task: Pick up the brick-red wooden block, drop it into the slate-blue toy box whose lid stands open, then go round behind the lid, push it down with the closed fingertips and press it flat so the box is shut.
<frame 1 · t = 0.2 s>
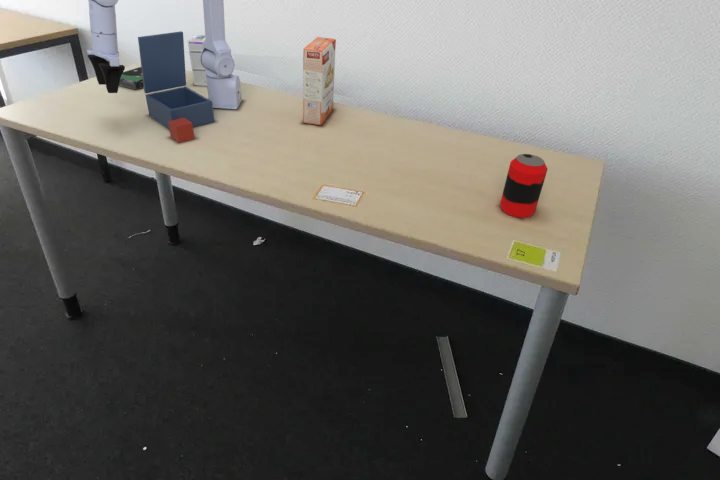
hand: (107, 88, 130), 10 cm above the table, tool pointing down, fingers open, 7 cm apart
syrup box: (204, 83, 169), on the table
lid: (163, 62, 139), point 14 cm above the table, hinge at 80.0°
block: (182, 138, 133), on the table
cracker box: (319, 117, 150), on the table
toy box: (181, 118, 143), on the table
disk drive: (142, 81, 167), on the table
soda can: (516, 210, 112), on the table
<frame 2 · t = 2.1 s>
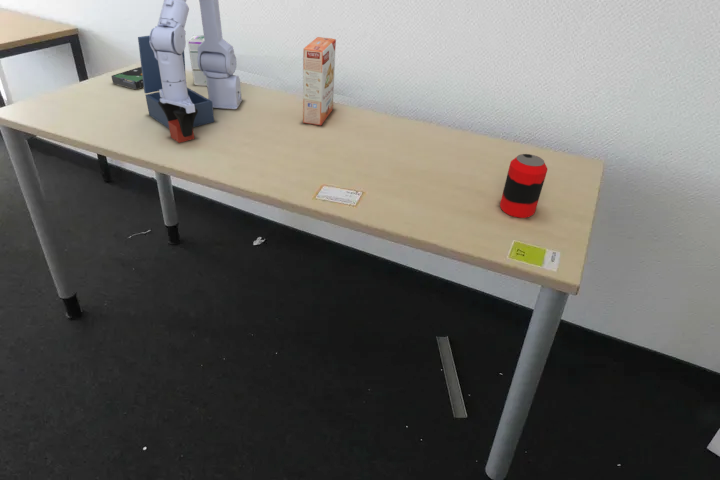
hand: (181, 131, 132), 2 cm above the table, tool pointing down, fingers open, 6 cm apart
nothing on the table moved.
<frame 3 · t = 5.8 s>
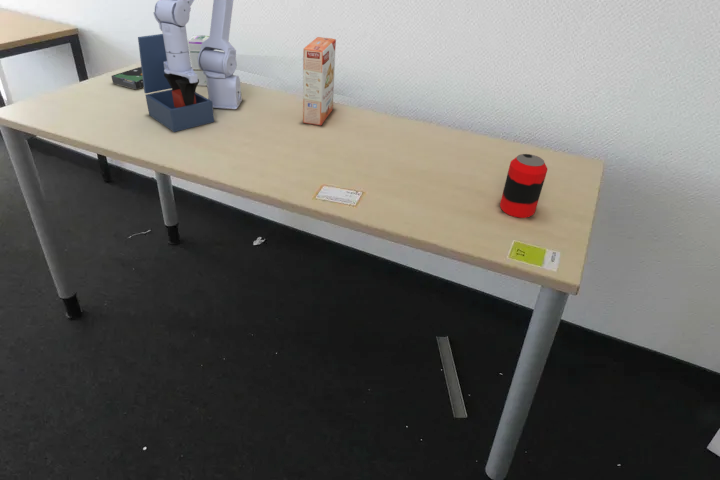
hand: (184, 102, 138), 6 cm above the table, tool pointing down, fingers closed on block, 4 cm apart
block: (185, 107, 139), point 4 cm above the table, touching gripper
everything else where it was.
when the fingers open (6 cm above the table, at t = 10.4 s): block drops 4 cm, resting on toy box.
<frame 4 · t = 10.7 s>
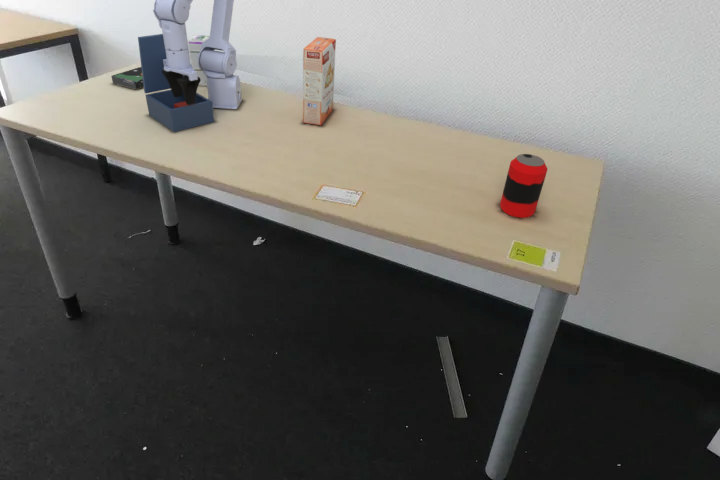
hand: (184, 100, 138), 6 cm above the table, tool pointing down, fingers open, 6 cm apart
block: (187, 119, 141), point 1 cm above the table, touching toy box
everything else where it was.
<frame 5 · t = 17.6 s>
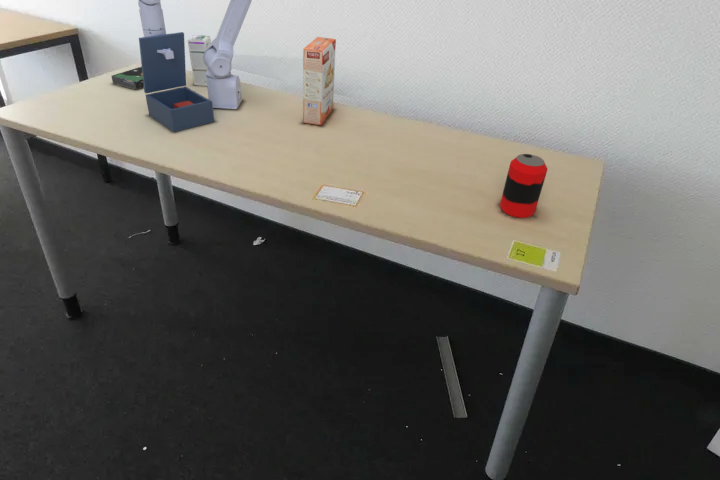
hand: (162, 79, 143), 9 cm above the table, tool pointing down, fingers closed
lid: (163, 63, 138), point 14 cm above the table, hinge at 78.0°, touching gripper
everything else where it was.
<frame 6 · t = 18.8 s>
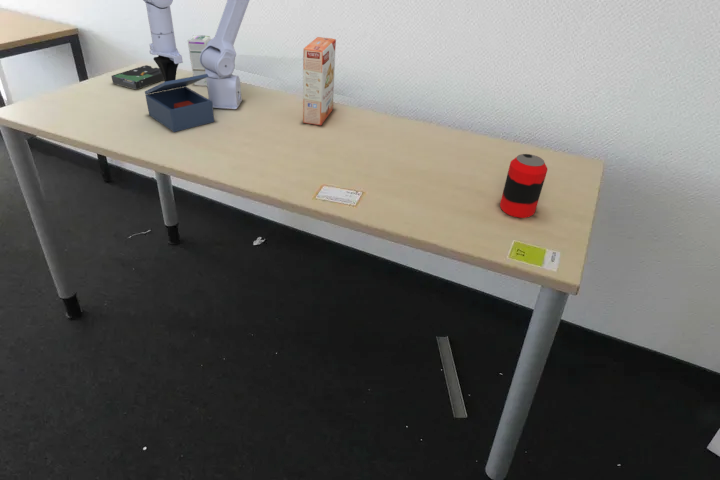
hand: (170, 83, 140), 9 cm above the table, tool pointing down, fingers closed
lid: (175, 84, 138), point 10 cm above the table, hinge at 24.7°, touching gripper
everything else where it was.
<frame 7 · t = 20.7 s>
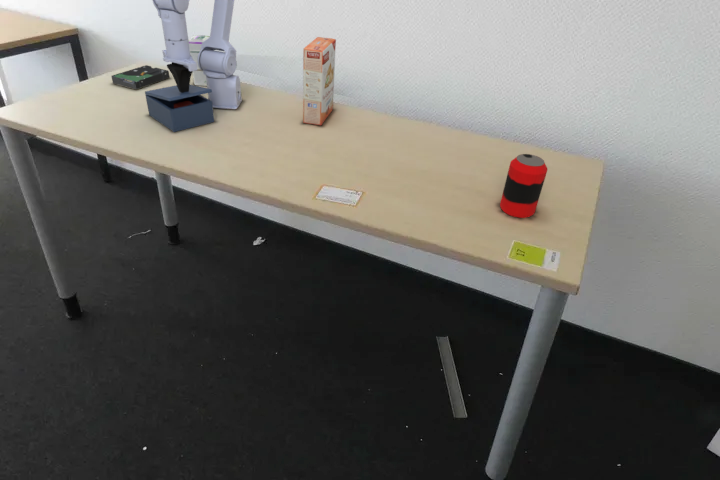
hand: (184, 91, 136), 9 cm above the table, tool pointing down, fingers closed
lid: (178, 91, 139), point 8 cm above the table, hinge at 9.7°
everything else where it was.
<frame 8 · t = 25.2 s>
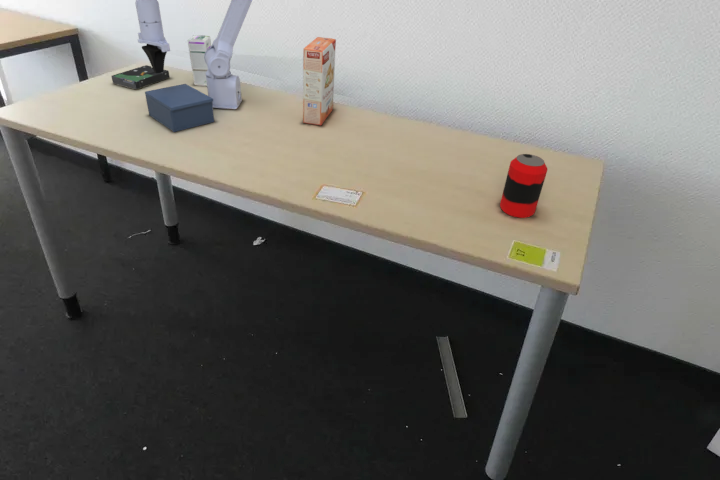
hand: (158, 72, 143), 10 cm above the table, tool pointing down, fingers closed
lid: (178, 96, 139), point 7 cm above the table, hinge at 0.4°
everything else where it was.
at the end: block inside the target area in the toy box (3.5 cm from its centre), point 0.8 cm above the toy box's base; lid at +0° (first picture: +80°) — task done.
